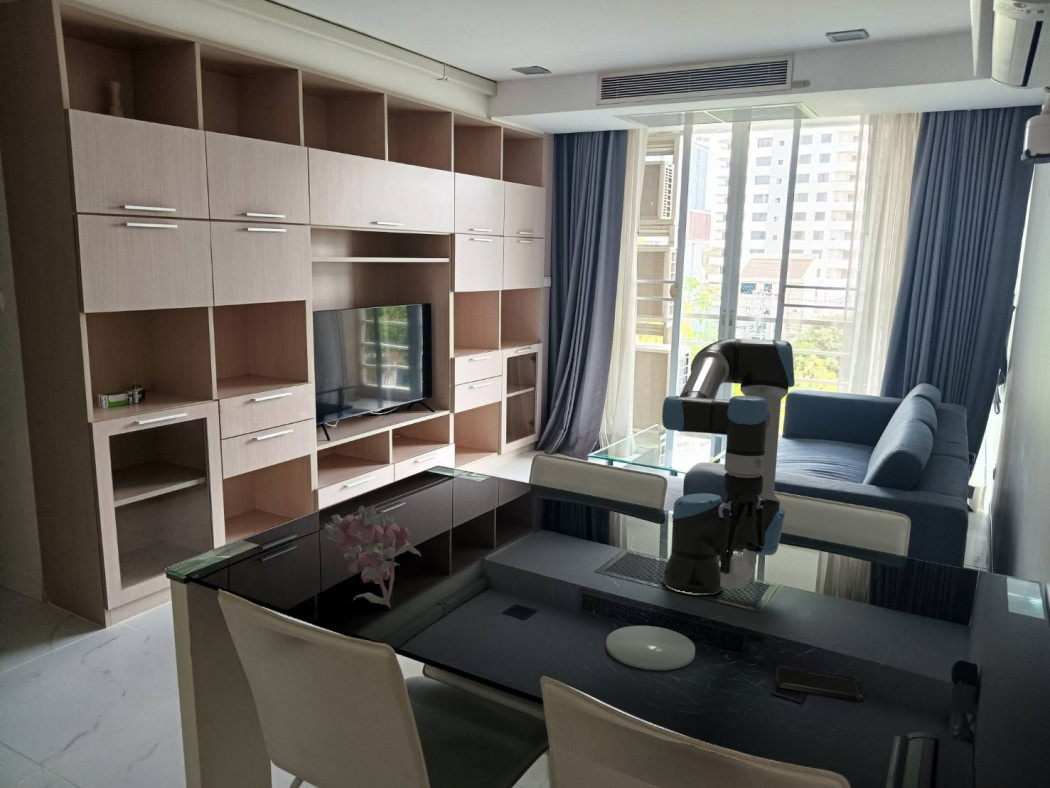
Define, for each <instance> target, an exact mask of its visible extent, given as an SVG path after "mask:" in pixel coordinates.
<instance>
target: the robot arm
mask: <svg viewBox="0 0 1050 788" xmlns="http://www.w3.org/2000/svg"><path fill="white" fill-rule="evenodd" d="M793 355H794V354H793V346H792V344H791V343H790V341H787V340H778V339H773V338H772V339H759V338H758V339H754V338H751V339H750V338H733V337H731V338H724V339H720V340H718V341H715V342H712V343H710V344H708V345H707V346H705V347H703V348H702V349H700V350H699V351H698V352H697V353H696V354H695V356H694V358H693V359H692V361H691V364H690V374H689V377H688V379H687V380H686V383H685V384H684V387H683V388H682V391H681V393H680V394H679V395H675V396H674V395H672V396H671V395H670V396H667V397H666V398H665V399H664V401H663V405H662V410H661V411H662V413H661V414H662V415H661V420H662V426H663V428H664V429H666V430H669V431H677V432H679V433H680V432H681V433H683V432H685V433H700V434H713V435H723V436H724V435H725V436H726V448H725V456H724V457H725V458H724V471H725V474H724V476H723V477H724V478H723V490H724V491H725V492H726V494H727V496H726V497H727V498H726V500H725V502H723V499H722V497H721V496H720V495H718V494H713V493H709V492H708V493H707V492H706V493H703V492H702V493H691V494H686V495H682V496H680V497H678V498H677V499H675V501H674V504H673V510H672V511H673V513H672V517H671V518H672V531H671V551H670V556H669V558H668V561H667V562H666V563H667V564H666V566H665V569H664V571H663V573H662V582H663V581H664V583H665V584H666V585H668V586H669V587H671V588H673V589H676V590H680V591H685V592H692V593H715V592H719V591H721V590H722V589H723V590H724V589H727V590H728V591H733V590H734V587H733V586H734V569H735V558H733V557H732V555H733V553H742V554H744V555H746V556H747V558H748V561H749V563H750V565H751V566H752V567H753V569H754V573H753V575H752V578H751V579H750V581H749V582H748V584H755V580H756V578H755V577H756V566H757V556H758V555H760V556H773V555H775V554H776V553H777V551H778V549H779V545H780V540H781V536H782V533H783V532H782V531H783V528H784V527H783V526H784V521H785V516H786V509H784V508H782V507H780V503H781V501H780V500H779V498H778V497H777V496H776V494H775V484H776V473H777V471H776V470H777V469H776V468H777V462H778V461H777V459H778V458H777V457H778V445H779V432H780V419H781V406H782V405H781V403H782V399H784V397H787V395H788V394H789V388H792V387H794V386H796V385H795V371H794V370H795V369H794V368H795V367H794V365H795V364H794V356H793ZM724 383H726V384H737V385H738V384H740V392H741V393H742V394H743V395H736V396H735V395H734V396H731V398H730V399H721V398H720V399H719V398H718V399H717V398H716V397H717V394H718V392H719V389H720V386H721V385H722V384H724ZM719 556H720V561H719ZM723 587H724V588H723Z"/></svg>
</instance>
